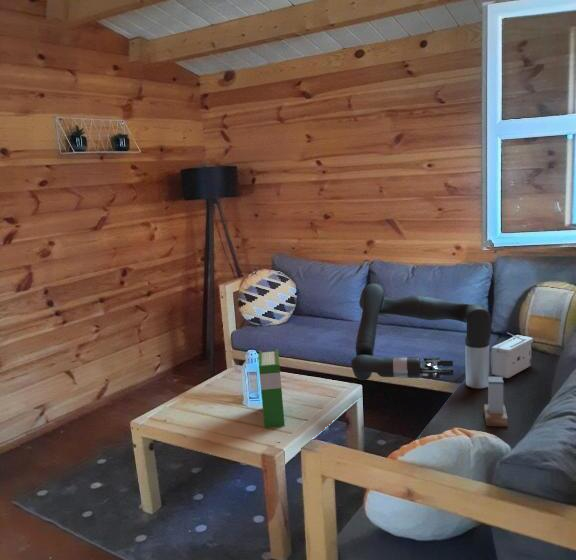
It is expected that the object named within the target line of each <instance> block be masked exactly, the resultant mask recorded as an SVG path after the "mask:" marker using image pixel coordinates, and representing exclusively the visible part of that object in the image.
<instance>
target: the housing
mask: <svg viewBox="0 0 576 560" xmlns="http://www.w3.org/2000/svg"><path fill="white" fill-rule="evenodd" d="M503 379H504V377H500V376H490V377H488V387H487V404H488V410H489V414H503V405H504V383H505V382H504V380H503Z"/></svg>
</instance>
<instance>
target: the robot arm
mask: <svg viewBox="0 0 576 560" xmlns="http://www.w3.org/2000/svg"><path fill="white" fill-rule="evenodd" d="M358 304H359V307H360V308H361V309H362V314H361V317H360V318H361V319H360V322H359V326H358V331H357V335H356V336H357V337H356V341H355V356H353V358H352V360H351V361H350V366H351V370H352V373H353V374H354V377H355V378H356V379H358V380H360V381H366V380H369V379H370V378H371V376H372V375H373V373H374V374H377V375H378V376H379V377H382V378H397V379H398V378H400V379H420V378H421V376H422V378H423V379H441V377H443V376H453V375H454V369H453V368H440V367H453V366H454V362H453V360H452V359H442V358H441V357H437V356H436V357H432V356H431V357H423V361H421V359H420V357H419V356H413V357H412V356H404V357H403V356H399V357H379V356H375V355H374V350H375V344H376V337H377V327H378V318H379V314H380V315H381V314H382V315H394V316H401V317H408V318H415V319H418V320H419V319H420V320H427V321H441V320H453V321H458V322H461V323H465V324H466V336H465V338H464V346H465V347H464V350H465V351H464V353H465V356H464V357H465V385H466V386H467V387H469V388H472V389H478V390H479V389H486V388H488V377H491V376H490V342H491V341H490V340H491V334H492V333H491V332H492V331H491V330H492V319H491V318H492V317H491V313H490V312H489V311H488V309H486V308H485V307H484V305H482V304H479V303H471V302H457V301H456V302H455V301H449V300H445V299H442V298H441V299H440V298H437V297H430V296H423V295H409V296H406V297H405V296H403V297H397V298H390V297H385V291H384V289H383V287H382V286H381V285H380V284H377V283H369V284H367V285H365V287H363V289H362V291H361V295H360V298H359V303H358Z"/></svg>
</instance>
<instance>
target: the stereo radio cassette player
mask: <svg viewBox="0 0 576 560" xmlns="http://www.w3.org/2000/svg"><path fill="white" fill-rule="evenodd" d="M506 334H508V335H510V336H512V337H510V338H508V339H507V340H504V341H502V342H500V343H498V344H495V345H493V346H492V347H491V353H490V355H491V356H490V360H491V361H490V363H491V364H490V365H491V374H492V375H494V376H495V377H502V378H503V379H507V378H508V379H509V378H511V377H513V376H515V375H517V374H518V373H520V372H522V371H524V370H527V368H529V367H531V365H532V343H534V338H533V337H530V336H525V335H520V334H516V335H514V334H512V333H509V332H508V331H507V332H506Z"/></svg>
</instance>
